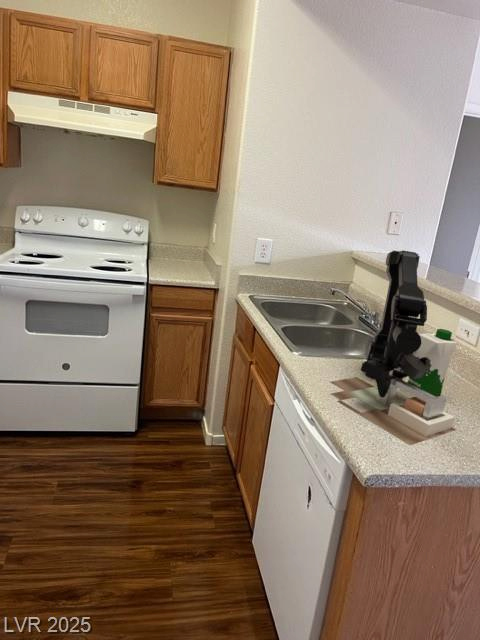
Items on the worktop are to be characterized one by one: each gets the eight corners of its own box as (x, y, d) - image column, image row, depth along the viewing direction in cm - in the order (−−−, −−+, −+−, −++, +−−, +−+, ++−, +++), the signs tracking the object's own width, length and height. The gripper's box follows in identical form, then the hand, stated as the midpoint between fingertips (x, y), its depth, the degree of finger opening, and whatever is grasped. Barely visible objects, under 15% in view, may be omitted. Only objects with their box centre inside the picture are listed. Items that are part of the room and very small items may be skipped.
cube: (413, 413, 124) (418, 395, 122) (430, 422, 120) (435, 404, 118) (401, 416, 121) (406, 398, 119) (418, 426, 117) (423, 407, 115)
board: (355, 381, 143) (356, 377, 143) (454, 435, 118) (456, 429, 118) (309, 390, 132) (310, 385, 132) (408, 451, 107) (409, 445, 107)
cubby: (413, 408, 127) (416, 397, 126) (451, 428, 118) (454, 417, 118) (387, 414, 120) (390, 404, 120) (425, 436, 112) (428, 425, 111)
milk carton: (444, 401, 138) (463, 336, 133) (420, 403, 134) (438, 336, 129) (422, 388, 146) (439, 326, 140) (399, 389, 142) (415, 325, 137)
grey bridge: (386, 398, 131) (393, 372, 129) (438, 426, 119) (446, 398, 116) (372, 401, 127) (378, 375, 125) (424, 430, 115) (432, 402, 113)
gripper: (403, 355, 111) (387, 415, 116) (447, 348, 122) (432, 404, 127) (366, 339, 120) (353, 396, 124) (411, 334, 131) (397, 386, 135)
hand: (385, 396), depth 127 cm, fingers closed on grey bridge, 3 cm apart
